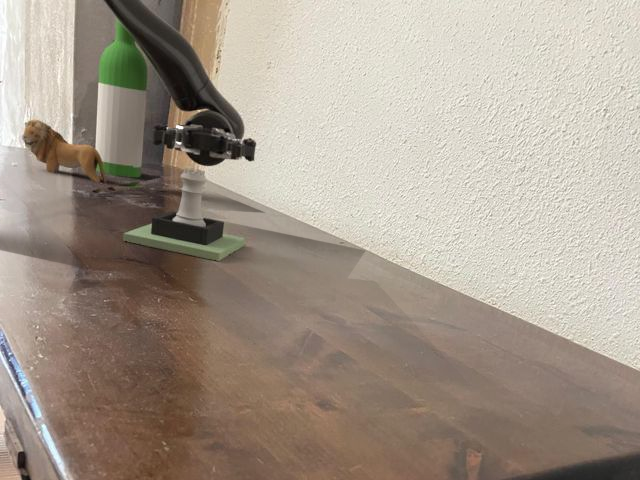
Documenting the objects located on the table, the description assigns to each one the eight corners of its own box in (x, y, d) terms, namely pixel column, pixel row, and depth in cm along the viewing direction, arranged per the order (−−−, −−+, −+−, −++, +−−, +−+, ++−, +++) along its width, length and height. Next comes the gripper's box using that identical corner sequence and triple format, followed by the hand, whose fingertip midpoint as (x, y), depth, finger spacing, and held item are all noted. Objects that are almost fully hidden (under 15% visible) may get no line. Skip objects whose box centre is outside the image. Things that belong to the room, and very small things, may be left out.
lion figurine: (16, 179, 116) (16, 117, 112) (29, 176, 120) (30, 116, 117) (110, 196, 116) (113, 135, 112) (120, 192, 121) (123, 134, 117)
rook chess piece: (205, 234, 97) (211, 170, 94) (206, 241, 93) (213, 175, 90) (170, 229, 96) (175, 164, 93) (169, 236, 92) (176, 169, 89)
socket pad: (123, 241, 90) (124, 216, 89) (159, 227, 101) (160, 205, 99) (218, 261, 89) (221, 236, 88) (244, 245, 100) (247, 223, 98)
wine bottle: (86, 176, 130) (94, -20, 118) (128, 180, 135) (140, -8, 122) (104, 185, 125) (115, -19, 112) (147, 189, 129) (162, -7, 117)
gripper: (163, 102, 111) (150, 106, 97) (258, 119, 114) (259, 125, 99) (159, 155, 114) (146, 166, 100) (251, 170, 117) (251, 183, 102)
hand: (202, 145), depth 99 cm, fingers open, 8 cm apart
